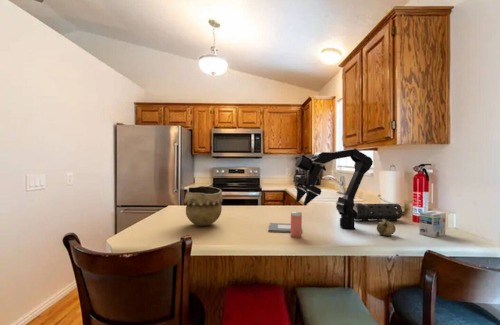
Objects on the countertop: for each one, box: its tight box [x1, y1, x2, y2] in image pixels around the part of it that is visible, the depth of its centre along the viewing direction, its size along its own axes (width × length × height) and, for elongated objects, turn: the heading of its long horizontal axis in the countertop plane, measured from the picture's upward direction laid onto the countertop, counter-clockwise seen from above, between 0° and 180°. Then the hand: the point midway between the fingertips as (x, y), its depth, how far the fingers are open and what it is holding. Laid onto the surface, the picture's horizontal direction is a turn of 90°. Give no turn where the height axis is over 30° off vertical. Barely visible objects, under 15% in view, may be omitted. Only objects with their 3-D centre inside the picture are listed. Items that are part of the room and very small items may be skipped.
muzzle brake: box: [353, 202, 403, 222], centre depth 156 cm, size 10×28×10 cm, turn 95°
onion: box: [376, 219, 397, 237], centre depth 126 cm, size 8×8×8 cm
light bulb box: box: [418, 210, 447, 238], centre depth 128 cm, size 11×7×11 cm, turn 117°
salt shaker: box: [289, 210, 303, 239], centre depth 122 cm, size 5×5×11 cm
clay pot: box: [182, 185, 224, 227], centre depth 140 cm, size 21×21×20 cm
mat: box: [267, 222, 291, 234], centre depth 135 cm, size 16×14×1 cm
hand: (300, 203), depth 133 cm, fingers open, 9 cm apart
